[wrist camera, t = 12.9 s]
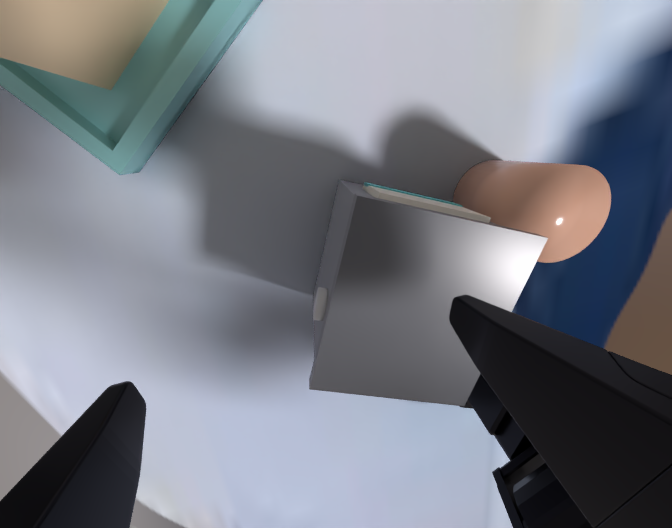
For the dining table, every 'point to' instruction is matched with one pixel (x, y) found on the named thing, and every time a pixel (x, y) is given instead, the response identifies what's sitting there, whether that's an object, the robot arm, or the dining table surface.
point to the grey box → (407, 292)
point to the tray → (136, 83)
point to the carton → (76, 35)
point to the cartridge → (540, 201)
